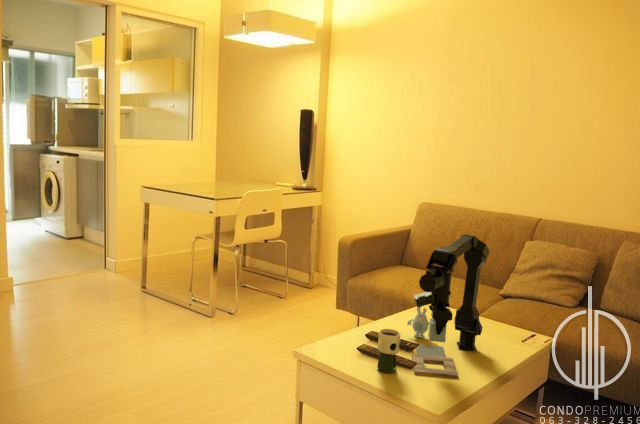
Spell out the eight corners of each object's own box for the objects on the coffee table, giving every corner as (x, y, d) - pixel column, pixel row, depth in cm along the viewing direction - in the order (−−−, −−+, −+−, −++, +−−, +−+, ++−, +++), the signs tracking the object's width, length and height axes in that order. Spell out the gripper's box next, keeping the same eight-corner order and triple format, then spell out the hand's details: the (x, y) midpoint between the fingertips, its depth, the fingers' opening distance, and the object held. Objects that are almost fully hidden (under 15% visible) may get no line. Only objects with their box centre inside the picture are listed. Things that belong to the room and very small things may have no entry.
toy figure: (403, 336, 210) (406, 306, 208) (408, 331, 215) (411, 302, 213) (430, 342, 205) (433, 312, 203) (434, 337, 210) (437, 307, 209)
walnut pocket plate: (411, 356, 191) (412, 354, 191) (452, 360, 189) (452, 358, 189) (414, 373, 177) (414, 371, 177) (457, 378, 176) (458, 375, 176)
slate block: (428, 335, 184) (429, 318, 184) (443, 336, 184) (444, 319, 183) (429, 340, 180) (431, 323, 179) (444, 342, 179) (446, 325, 178)
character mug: (386, 378, 173) (389, 339, 171) (368, 371, 177) (370, 333, 175) (404, 368, 181) (407, 331, 179) (386, 361, 185) (389, 325, 183)
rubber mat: (415, 345, 201) (415, 344, 201) (442, 348, 200) (443, 346, 200) (417, 356, 192) (417, 354, 192) (446, 359, 191) (446, 357, 191)
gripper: (415, 277, 189) (411, 320, 191) (418, 292, 171) (414, 339, 173) (447, 279, 188) (443, 323, 190) (454, 295, 170) (450, 342, 172)
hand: (437, 331), depth 181 cm, fingers closed on slate block, 5 cm apart
